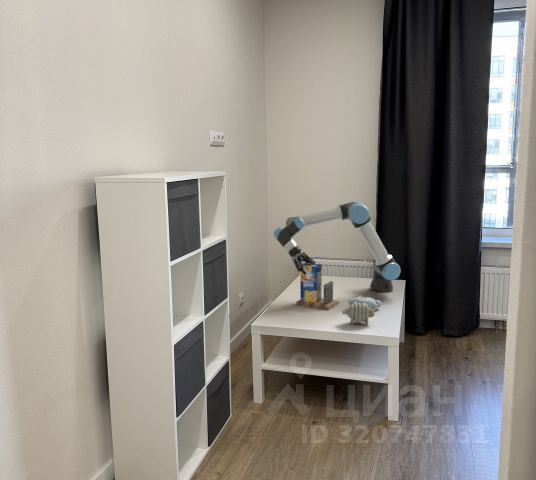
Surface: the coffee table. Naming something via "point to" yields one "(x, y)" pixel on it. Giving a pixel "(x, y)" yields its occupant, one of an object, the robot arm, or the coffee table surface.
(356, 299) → the figurine
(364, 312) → the toy sheep
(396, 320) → the coffee table surface
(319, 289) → the beverage box
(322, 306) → the wooden stand
